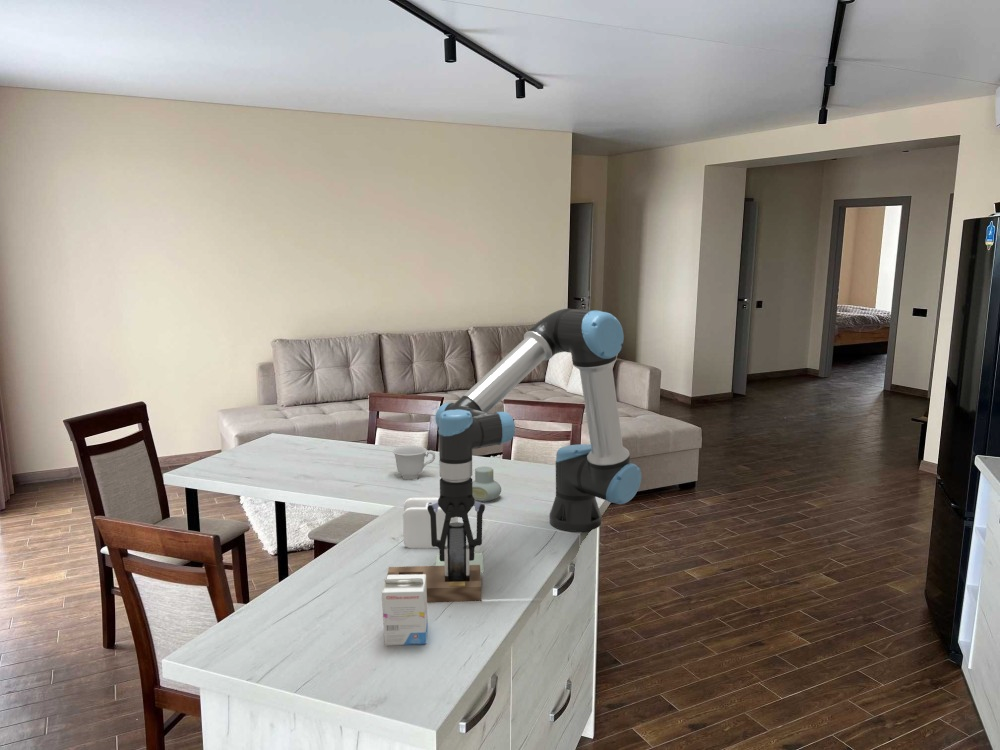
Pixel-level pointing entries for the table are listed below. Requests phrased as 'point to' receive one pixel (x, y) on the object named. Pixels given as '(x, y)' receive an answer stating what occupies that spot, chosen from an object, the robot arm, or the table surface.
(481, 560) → the mat
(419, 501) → the cable organizer
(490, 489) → the air freshener
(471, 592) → the socket block
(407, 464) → the teacup
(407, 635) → the ink box
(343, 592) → the table surface
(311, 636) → the table surface
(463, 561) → the plug
